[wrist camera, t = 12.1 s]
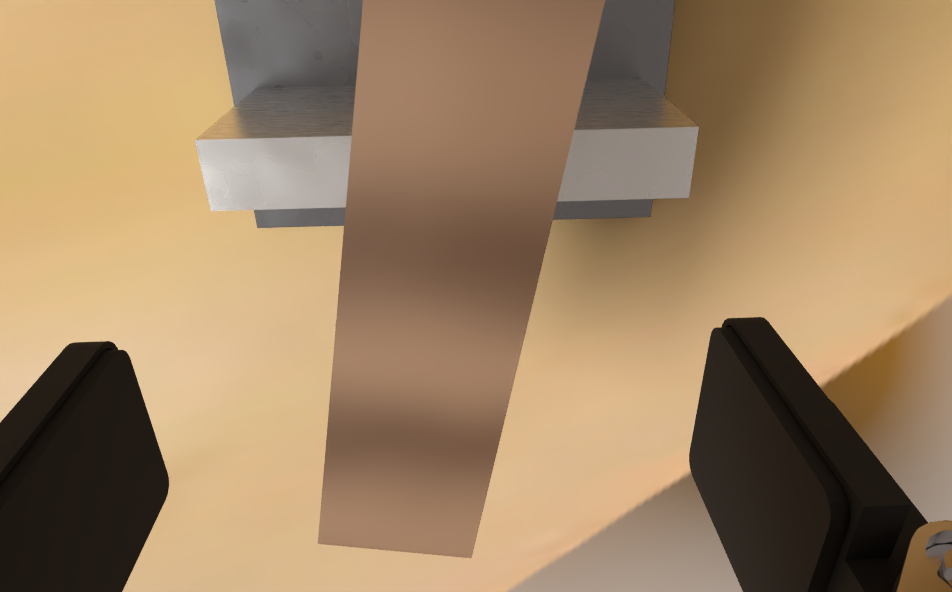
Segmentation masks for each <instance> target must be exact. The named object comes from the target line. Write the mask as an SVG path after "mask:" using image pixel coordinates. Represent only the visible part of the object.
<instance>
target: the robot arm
mask: <svg viewBox="0 0 952 592" xmlns="http://www.w3.org/2000/svg"><path fill="white" fill-rule="evenodd" d="M689 462H690V469H691V473H692V476H693V478H694V481H695V483H696V485H697V487H698V490H699V492H700V494H701V497H702V499H703V501H704V503H705V506H706V508H707V510H708V513H709V515H710V517H711V519H712V522H713V524H714V526H715V528H716V531H717V533H718V535H719V537H720V540H721V542H722V544H723V547H724V549H725V551H726V554H727V556H728V558H729V561H730V563H731V565H732V567H733V570H734V572H735V574H736V577H737V578H738V581H739V583H740V586H741V588H742V590H743V592H952V521H948V520H944V521H937V522H929V523H928V522H927V521H926V520H925V518H924V517H923V516H922V514H921V513H920V512H919V511H918V509H917V508H916V507H915V506H914V504H913V503H912V502H911V501H910V499H909V498H908V497H907V496H906V494H905V493H904V492H903V490H902V489H901V488H900V487H899V485H898V484H897V483H896V482H895V480H894V479H893V478H892V476H891V475H890V474H889V473H888V472H887V470H886V469H885V468H884V467H883V465H882V464H881V463H880V461H879V460H878V459H877V458H876V456H875V455H874V454H873V452H872V451H871V450H870V449H869V447H868V446H867V445H866V443H865V442H864V441H863V440H862V438H861V437H860V436H859V435H858V434H857V432H856V431H855V430H854V429H853V427H852V426H851V424H850V423H849V422H848V421H847V419H846V418H845V417H844V416H843V414H842V413H841V412H840V411H839V409H838V408H837V407H836V406H835V404H834V403H833V402H831V400H830V399H828V397H827V396H826V395H825V394H824V392H823V391H822V390H821V388H820V387H819V386H818V385H817V383H816V382H815V381H814V379H813V378H812V377H811V376H810V374H809V373H808V372H807V371H806V369H805V368H804V367H803V365H802V364H801V363H800V362H799V360H798V359H797V358H796V357H795V355H794V354H793V353H792V351H791V350H790V349H789V348H788V346H787V345H786V344H785V343H784V341H783V340H782V339H781V337H780V336H779V335H778V334H777V332H776V331H775V330H774V329H773V327H772V326H771V325H770V323H769V322H768V321H767V320H766V319H765V318H762V317H754V318H728V319H726V320H725V321H724V323H723V324H722V328H715V329H713V331H712V333H711V337H710V342H709V348H708V353H707V359H706V364H705V370H704V375H703V381H702V386H701V392H700V398H699V403H698V409H697V414H696V420H695V425H694V431H693V436H692V442H691V447H690V454H689ZM168 489H169V478H168V473H167V470H166V467H165V464H164V461H163V458H162V455H161V452H160V449H159V446H158V442H157V439H156V436H155V433H154V430H153V427H152V424H151V421H150V418H149V415H148V412H147V409H146V406H145V403H144V400H143V396H142V393H141V390H140V387H139V384H138V381H137V378H136V375H135V372H134V369H133V366H132V363H131V360H130V357H129V355H128V353H127V352H126V351H124V350H118V348H117V347H116V345H115V344H114V343H112V342H110V341H105V342H78V343H71V344H69V345H68V346H67V347H65V349H64V350H63V351H62V352H61V353H60V354H59V356H58V357H57V358H56V359H55V360H54V361H53V362H52V364H51V365H50V366H49V367H48V368H47V369H46V371H45V372H44V373H43V374H42V375H41V376H40V377H39V379H38V380H37V381H36V382H35V383H34V384H33V386H32V387H31V388H30V389H29V390H28V391H27V392H26V394H25V395H24V396H23V397H22V398H21V399H20V401H19V402H18V403H17V404H16V405H15V406H14V408H13V409H12V410H11V411H10V412H9V413H8V414H7V416H6V417H5V418H4V419H3V420H2V421H1V423H0V592H122V591H123V589H124V587H125V584H126V582H127V580H128V578H129V576H130V574H131V572H132V570H133V567H134V565H135V563H136V561H137V559H138V557H139V555H140V553H141V551H142V548H143V546H144V544H145V542H146V540H147V538H148V536H149V534H150V532H151V529H152V527H153V525H154V523H155V521H156V519H157V517H158V515H159V512H160V510H161V508H162V506H163V504H164V502H165V500H166V497H167V494H168Z"/></svg>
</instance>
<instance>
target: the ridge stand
mask: <svg viewBox="0 0 952 592" xmlns="http://www.w3.org/2000/svg"><path fill="white" fill-rule="evenodd" d="M215 5H216V11H217V16H218V21H219V27H220V32H221V37H222V43H223V48H224V53H225V59H226V64H227V69H228V74H229V80H230V85H231V90H232V96H233V101H234V107H233V108H232V109H231V110H230V111H228V112H227V113H226V114H225V115H224V116H223V117H221V118H220V119H219V120H218V121H217V122H216V123H214V124H213V125H212V126H211V127H210V128H208V129H207V130H206V131H205V132H204V133H203V134H201V135H200V136H199V137H198V138H197V139H196V140H195V142H196V147H197V151H198V156H199V160H200V165H201V169H202V174H203V178H204V183H205V187H206V192H207V196H208V201H209V205H210V210H211V211H231V210H254V212H255V218H256V223H257V228H272V227H308V226H344V223H345V211H346V199H347V187H348V175H349V163H350V151H351V139H352V126H353V114H354V102H355V90H356V78H357V66H358V54H359V42H360V30H361V18H362V6H363V0H215ZM674 6H675V0H605V4H604V8H603V12H602V16H601V20H600V24H599V29H598V33H597V37H596V41H595V45H594V49H593V54H592V58H591V62H590V66H589V70H588V74H587V79H586V83H585V87H584V91H583V95H582V99H581V104H580V108H579V112H578V116H577V120H576V124H575V128H574V133H573V137H572V141H571V145H570V149H569V153H568V158H567V162H566V166H565V170H564V174H563V178H562V183H561V187H560V191H559V195H558V199H557V203H556V208H555V212H554V216H553V220H558V219H594V218H629V217H651V209H652V200H653V199H666V198H689V194H690V187H691V180H692V173H693V166H694V159H695V152H696V145H697V138H698V130H699V126H697V125H696V124H695V123H694V122H693V121H691V120H690V119H689V118H688V117H687V116H686V115H684V114H683V113H682V112H681V111H680V110H679V109H677V108H676V107H675V106H674V105H673V104H672V103H670V102H669V101H668V100H667V99H666V98H664V94H665V85H666V76H667V67H668V59H669V50H670V41H671V32H672V23H673V15H674Z"/></svg>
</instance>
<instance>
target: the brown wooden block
mask: <svg viewBox="0 0 952 592" xmlns="http://www.w3.org/2000/svg"><path fill="white" fill-rule="evenodd" d="M604 4H605V0H363V6H362V18H361V30H360V42H359V54H358V66H357V78H356V90H355V102H354V114H353V126H352V139H351V151H350V163H349V175H348V187H347V199H346V211H345V223H344V235H343V247H342V259H341V271H340V283H339V295H338V308H337V320H336V332H335V344H334V356H333V368H332V380H331V392H330V404H329V416H328V428H327V440H326V452H325V464H324V476H323V489H322V501H321V513H320V525H319V537H318V544H326V545H337V546H347V547H358V548H369V549H379V550H390V551H400V552H411V553H422V554H432V555H443V556H454V557H464V558H471V557H472V553H473V549H474V545H475V541H476V537H477V532H478V528H479V524H480V520H481V516H482V512H483V507H484V503H485V499H486V495H487V491H488V487H489V482H490V478H491V474H492V470H493V466H494V462H495V457H496V453H497V449H498V445H499V441H500V437H501V433H502V428H503V424H504V420H505V416H506V412H507V408H508V403H509V399H510V395H511V391H512V387H513V383H514V378H515V374H516V370H517V366H518V362H519V358H520V353H521V349H522V345H523V341H524V337H525V333H526V328H527V324H528V320H529V316H530V312H531V308H532V303H533V299H534V295H535V291H536V287H537V283H538V278H539V274H540V270H541V266H542V262H543V258H544V253H545V249H546V245H547V241H548V237H549V233H550V228H551V224H552V220H553V216H554V212H555V208H556V203H557V199H558V195H559V191H560V187H561V183H562V178H563V174H564V170H565V166H566V162H567V158H568V153H569V149H570V145H571V141H572V137H573V133H574V128H575V124H576V120H577V116H578V112H579V108H580V104H581V99H582V95H583V91H584V87H585V83H586V79H587V74H588V70H589V66H590V62H591V58H592V54H593V49H594V45H595V41H596V37H597V33H598V29H599V24H600V20H601V16H602V12H603V8H604Z"/></svg>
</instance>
